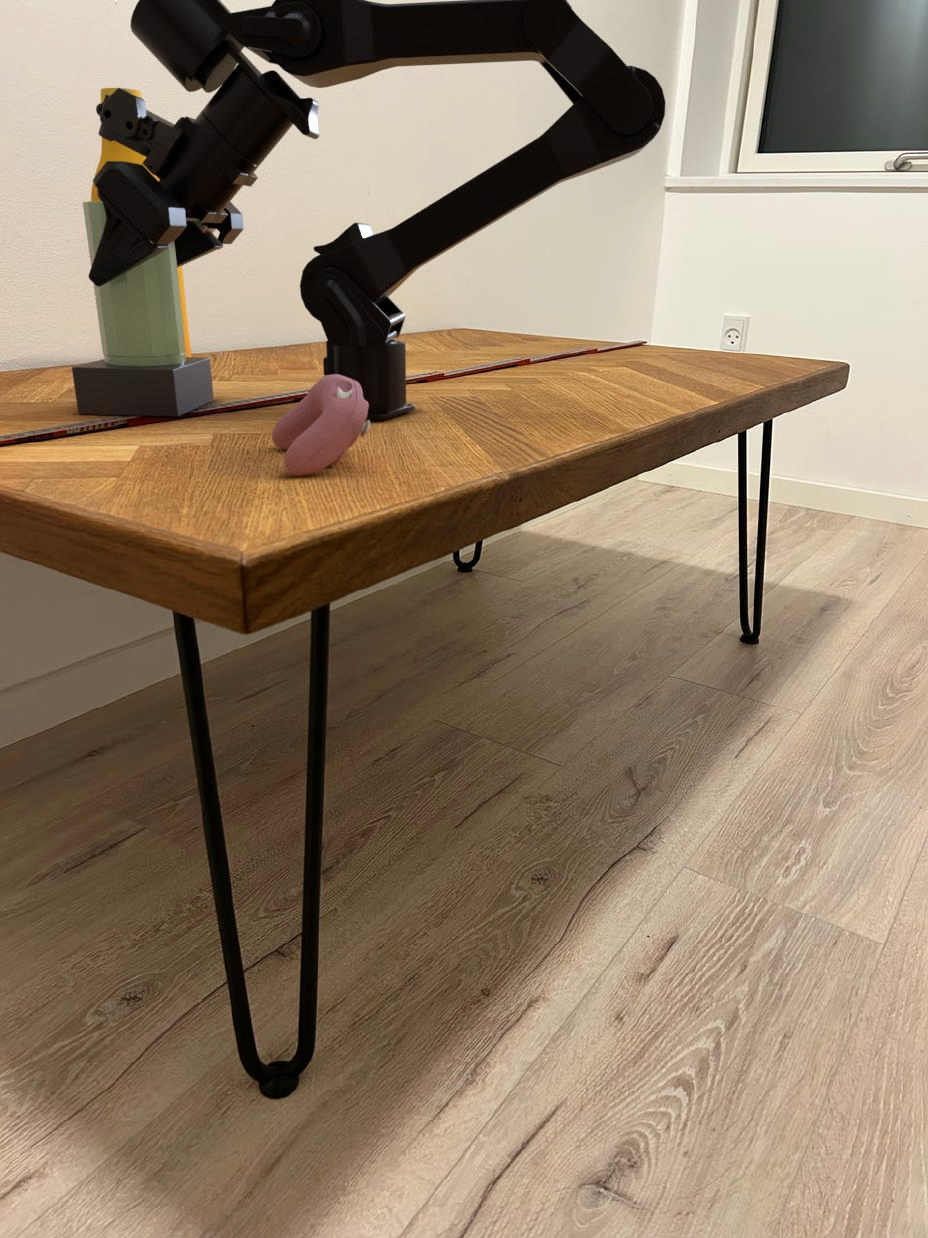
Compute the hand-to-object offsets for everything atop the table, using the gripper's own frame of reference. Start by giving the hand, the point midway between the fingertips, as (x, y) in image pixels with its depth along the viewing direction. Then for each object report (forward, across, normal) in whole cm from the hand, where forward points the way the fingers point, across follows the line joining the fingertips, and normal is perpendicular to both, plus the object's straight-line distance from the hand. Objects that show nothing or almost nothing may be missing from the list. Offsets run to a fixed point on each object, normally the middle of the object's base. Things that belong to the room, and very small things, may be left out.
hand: (118, 280), depth 79 cm
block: (+7, 0, +9) cm, 11 cm away
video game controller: (-8, +19, +23) cm, 31 cm away
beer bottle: (+15, -28, +1) cm, 31 cm away
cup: (+4, 0, +6) cm, 7 cm away
